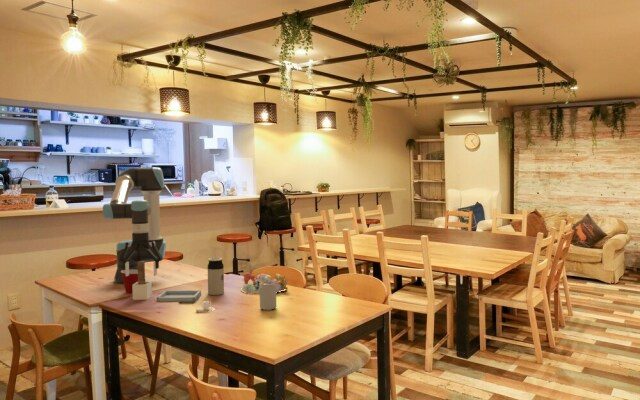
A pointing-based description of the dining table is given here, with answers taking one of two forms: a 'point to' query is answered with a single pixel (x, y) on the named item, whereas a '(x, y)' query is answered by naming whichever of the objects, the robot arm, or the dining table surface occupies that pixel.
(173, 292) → the tray
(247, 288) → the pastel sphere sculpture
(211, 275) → the travel mug
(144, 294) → the square open box
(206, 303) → the cream curved piece
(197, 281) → the dining table surface
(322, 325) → the dining table surface
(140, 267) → the dowel
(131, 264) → the robot arm
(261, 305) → the can
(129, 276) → the plastic cup
